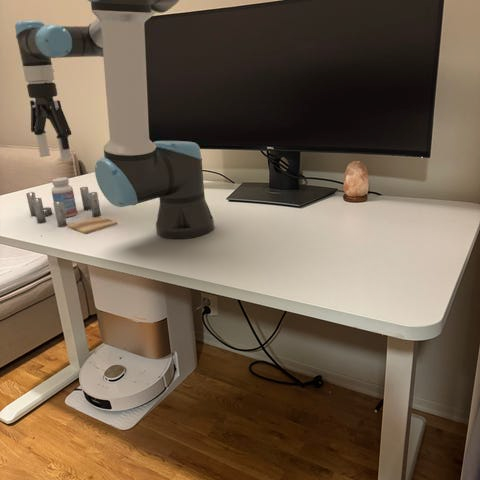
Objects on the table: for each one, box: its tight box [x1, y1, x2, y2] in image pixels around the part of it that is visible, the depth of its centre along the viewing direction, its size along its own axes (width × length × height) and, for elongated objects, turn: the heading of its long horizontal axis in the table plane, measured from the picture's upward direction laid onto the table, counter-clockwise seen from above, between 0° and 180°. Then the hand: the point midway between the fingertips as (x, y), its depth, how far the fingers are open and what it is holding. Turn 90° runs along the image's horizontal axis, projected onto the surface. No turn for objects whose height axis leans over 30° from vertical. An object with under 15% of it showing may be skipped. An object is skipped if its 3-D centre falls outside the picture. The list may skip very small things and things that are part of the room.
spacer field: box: [26, 186, 102, 228], centre depth 141 cm, size 20×17×7 cm
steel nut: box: [43, 206, 53, 218], centre depth 144 cm, size 4×4×2 cm
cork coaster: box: [66, 216, 119, 235], centre depth 131 cm, size 10×10×1 cm
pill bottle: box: [51, 177, 78, 218], centre depth 141 cm, size 6×6×11 cm
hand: (55, 158), depth 137 cm, fingers open, 13 cm apart
